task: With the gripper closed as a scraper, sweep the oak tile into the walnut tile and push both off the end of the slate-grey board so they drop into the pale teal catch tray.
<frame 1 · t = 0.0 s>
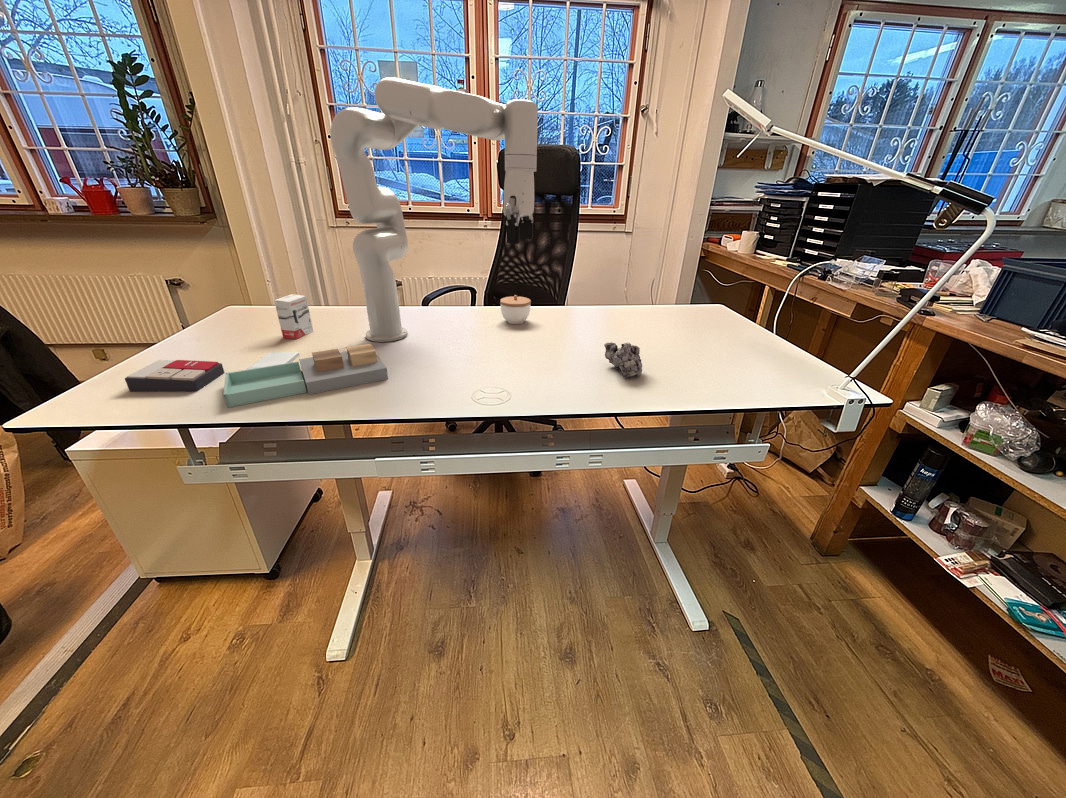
hand: (520, 241, 107), 31 cm above the table, tool pointing down, fingers open, 9 cm apart
hard drive: (274, 366, 113), on the table
board: (344, 374, 107), on the table
lidded jar: (515, 322, 151), on the table
mineral specimen: (624, 372, 113), on the table
ink box: (299, 335, 134), on the table
tray: (267, 388, 99), on the table
tile walnut: (329, 365, 105), point 3 cm above the table, touching board
tile oak: (362, 360, 108), point 3 cm above the table, touching board
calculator: (180, 383, 102), on the table
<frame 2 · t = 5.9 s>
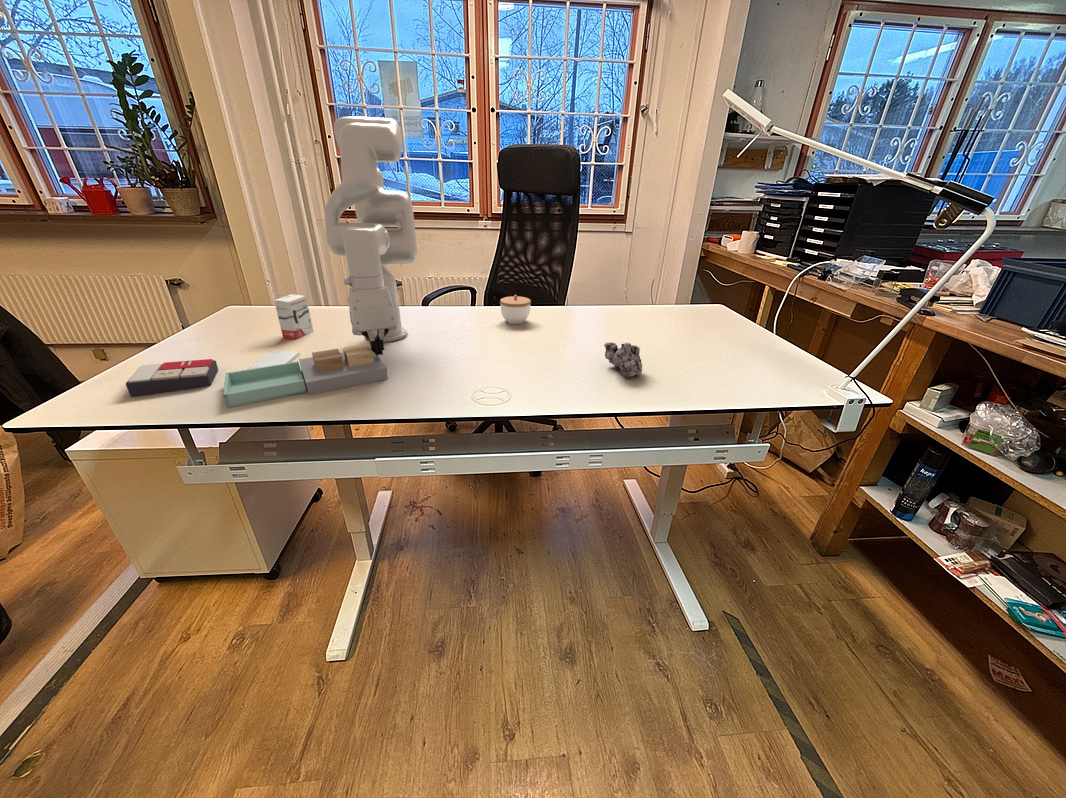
hand: (378, 353, 110), 4 cm above the table, tool pointing down, fingers closed
tile oak: (359, 360, 108), point 3 cm above the table, touching board, gripper
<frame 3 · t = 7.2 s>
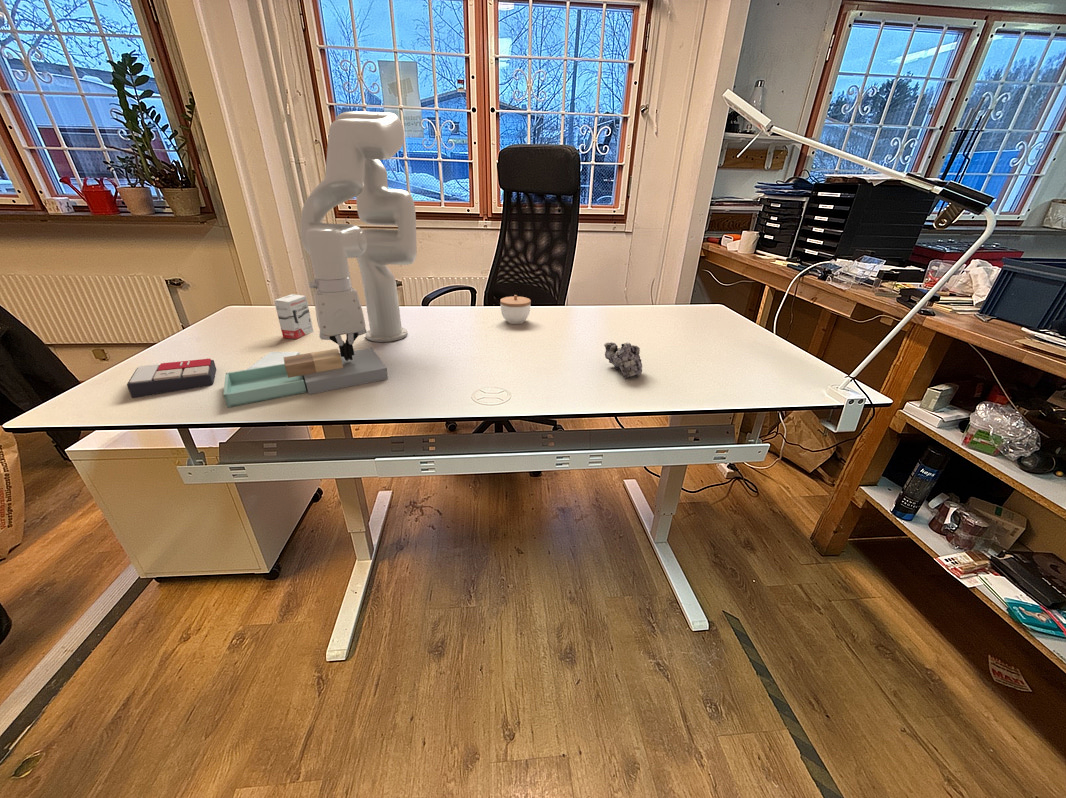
hand: (348, 358, 106), 4 cm above the table, tool pointing down, fingers closed
tile walnut: (301, 370, 102), point 3 cm above the table, touching board, tile oak
tile oak: (328, 365, 104), point 3 cm above the table, touching gripper, tile walnut
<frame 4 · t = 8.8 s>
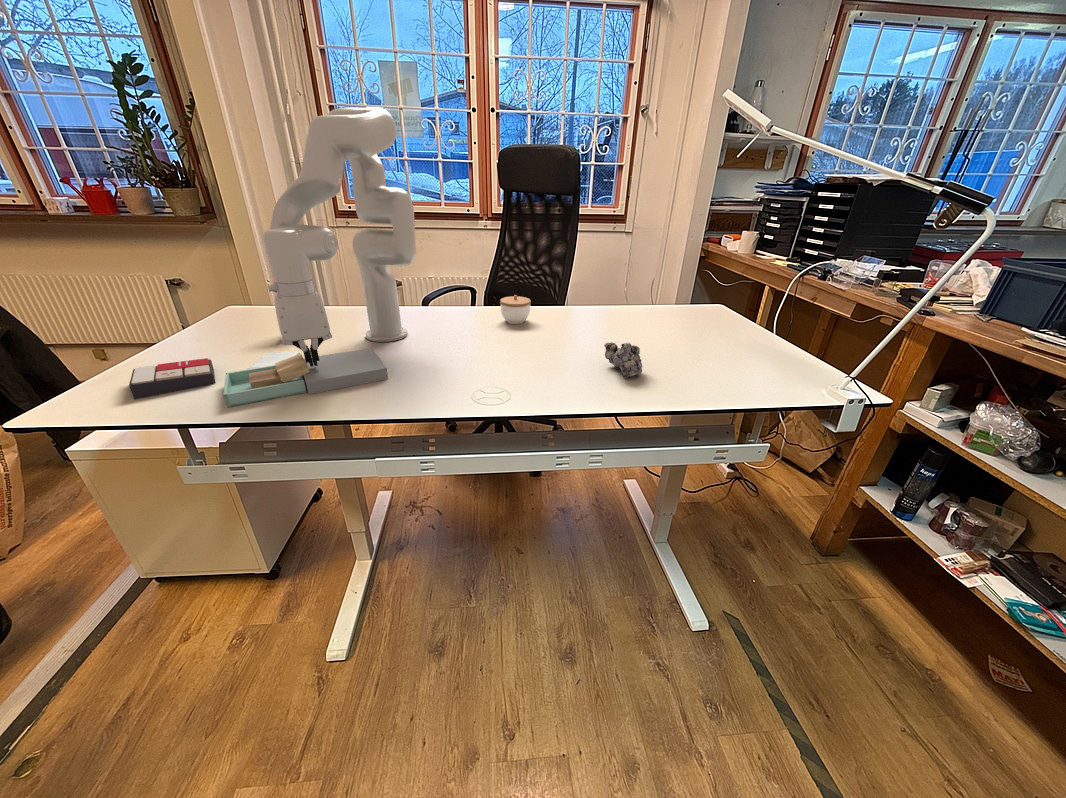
hand: (313, 364, 102), 4 cm above the table, tool pointing down, fingers closed
tile walnut: (268, 386, 99), resting on tray, touching tile oak
tile oak: (295, 372, 101), point 3 cm above the table, tilted 14°, touching board, gripper, tile walnut
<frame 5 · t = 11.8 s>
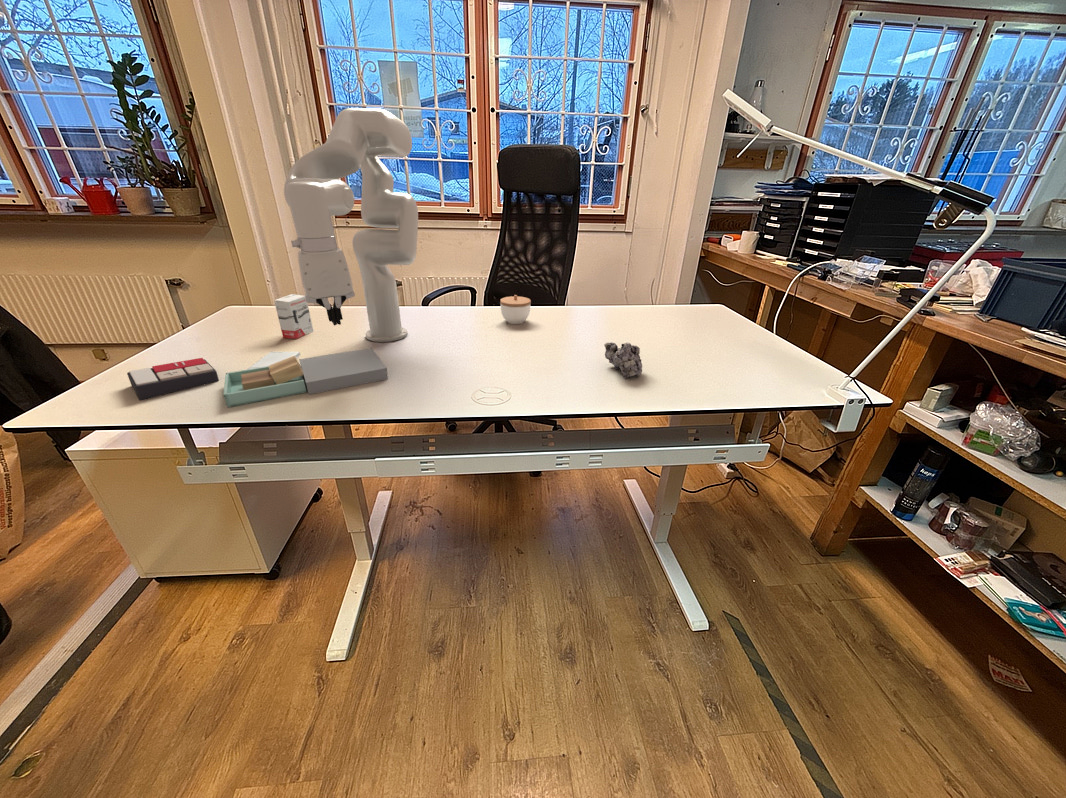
hand: (336, 323, 102), 13 cm above the table, tool pointing down, fingers closed
tile walnut: (260, 388, 98), resting on tray, touching tile oak
tile oak: (289, 375, 101), point 2 cm above the table, tilted 14°, touching board, tile walnut
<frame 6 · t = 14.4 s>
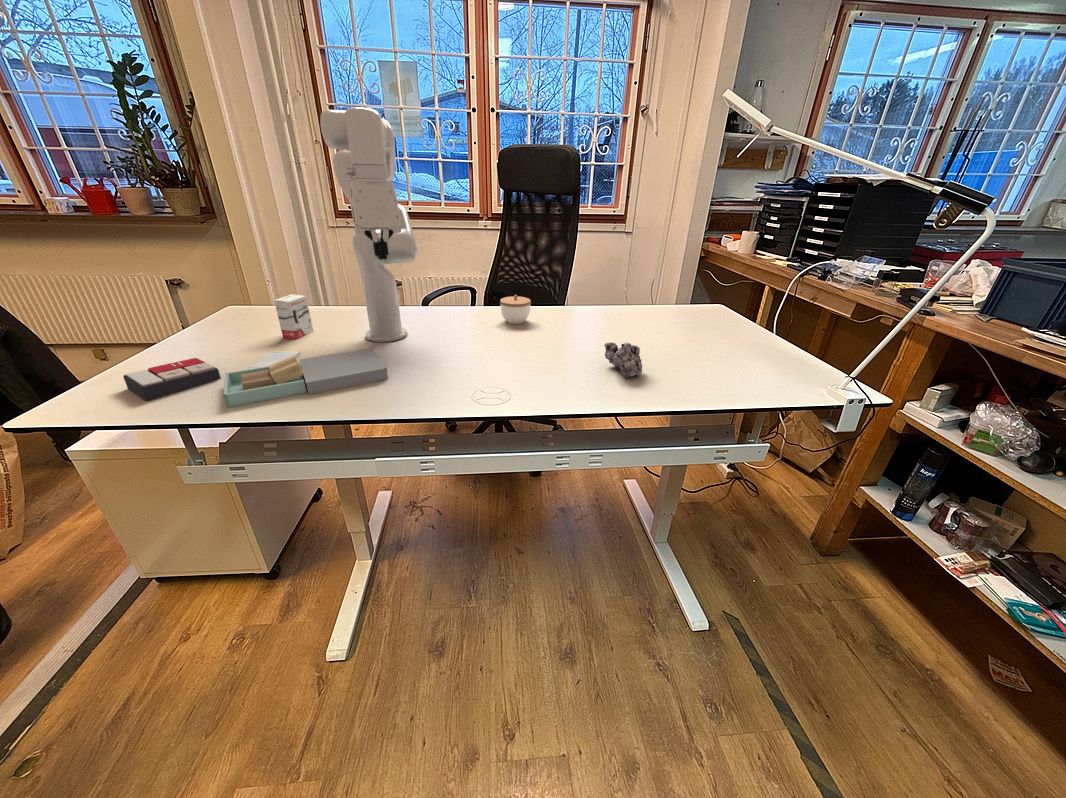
hand: (382, 258, 104), 27 cm above the table, tool pointing down, fingers closed
at the end: tile walnut inside the target area on the tray (1.3 cm from its centre), point 0.5 cm above the tray's base; tile oak inside the target area on the tray (5.1 cm from its centre), point 2.3 cm above the tray's base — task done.
